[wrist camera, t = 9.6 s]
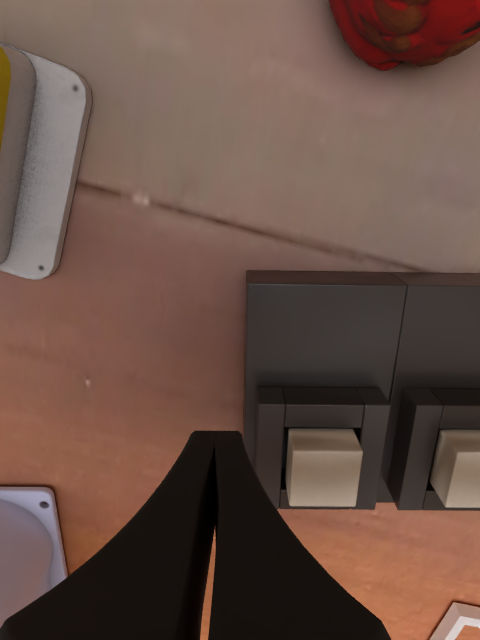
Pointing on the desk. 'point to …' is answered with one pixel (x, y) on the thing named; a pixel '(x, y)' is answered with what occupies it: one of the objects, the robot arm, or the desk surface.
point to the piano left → (319, 367)
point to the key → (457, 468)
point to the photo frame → (457, 621)
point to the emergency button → (38, 158)
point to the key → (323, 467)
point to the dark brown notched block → (431, 383)
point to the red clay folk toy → (407, 29)
